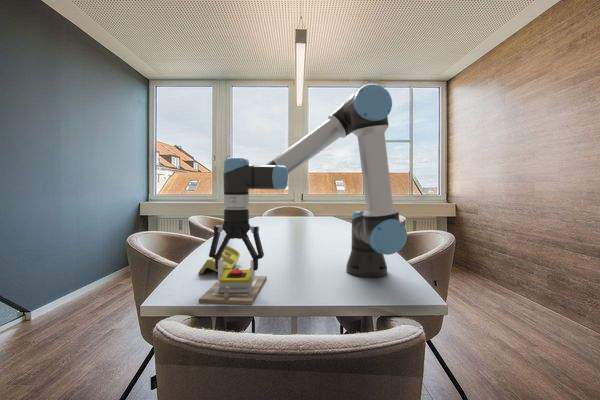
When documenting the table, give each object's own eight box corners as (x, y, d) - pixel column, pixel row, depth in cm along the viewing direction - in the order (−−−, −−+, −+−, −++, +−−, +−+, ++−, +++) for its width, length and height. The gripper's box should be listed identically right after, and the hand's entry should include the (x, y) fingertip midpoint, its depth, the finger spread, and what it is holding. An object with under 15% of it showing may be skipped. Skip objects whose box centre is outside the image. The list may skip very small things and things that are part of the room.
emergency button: (217, 277, 91) (225, 264, 106) (217, 292, 92) (225, 277, 106) (249, 277, 92) (253, 264, 107) (249, 292, 92) (253, 276, 107)
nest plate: (224, 277, 111) (224, 266, 111) (266, 278, 110) (266, 267, 110) (198, 302, 88) (198, 288, 88) (252, 304, 87) (252, 290, 87)
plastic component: (230, 269, 113) (205, 257, 113) (221, 287, 114) (196, 275, 114) (242, 253, 133) (221, 242, 133) (235, 268, 134) (214, 257, 134)
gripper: (196, 208, 95) (197, 282, 96) (270, 209, 93) (269, 284, 94) (205, 207, 102) (206, 275, 103) (273, 207, 101) (273, 277, 102)
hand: (236, 279), depth 99 cm, fingers closed on emergency button, 9 cm apart
